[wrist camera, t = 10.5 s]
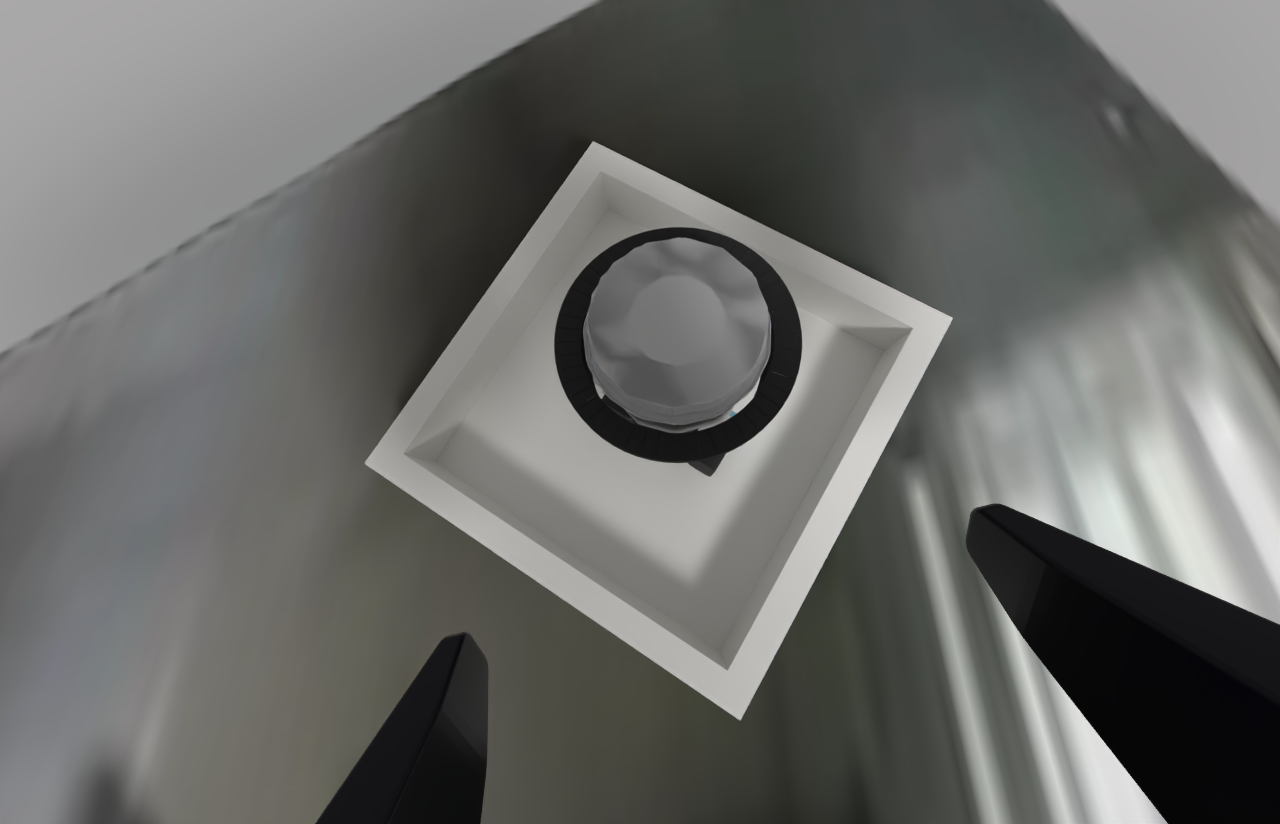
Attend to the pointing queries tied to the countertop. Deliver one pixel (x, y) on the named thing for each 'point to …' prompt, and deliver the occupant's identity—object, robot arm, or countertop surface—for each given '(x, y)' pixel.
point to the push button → (678, 345)
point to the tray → (649, 490)
